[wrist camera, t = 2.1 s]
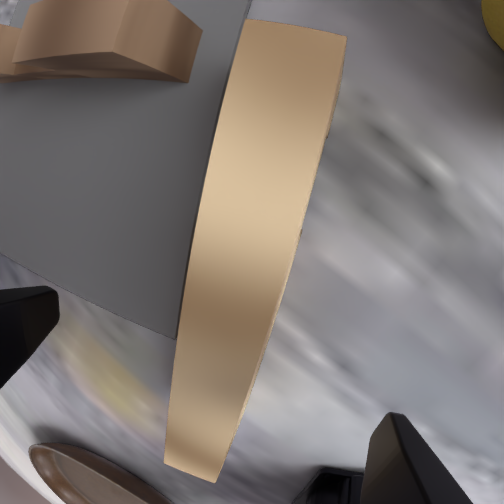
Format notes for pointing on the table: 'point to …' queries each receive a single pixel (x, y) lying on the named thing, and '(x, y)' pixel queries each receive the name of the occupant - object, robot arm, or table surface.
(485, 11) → the flower pot
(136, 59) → the walnut slotted board
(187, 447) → the beech curved plate
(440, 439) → the table surface
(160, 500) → the plant saucer
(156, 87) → the mat
